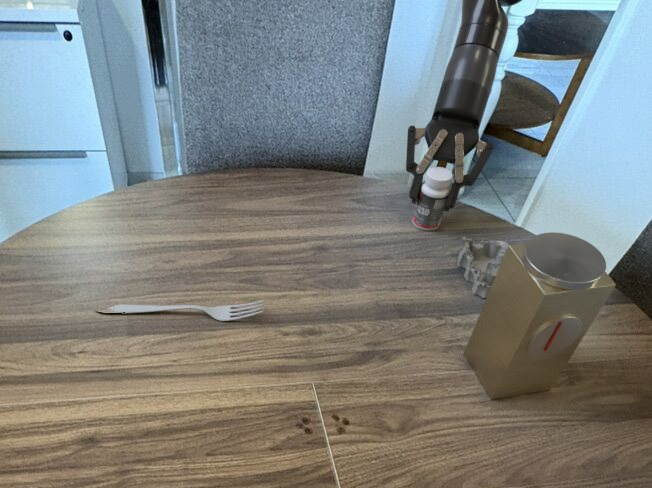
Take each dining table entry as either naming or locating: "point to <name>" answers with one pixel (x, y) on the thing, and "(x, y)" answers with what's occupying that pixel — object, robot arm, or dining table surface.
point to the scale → (537, 313)
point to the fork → (216, 312)
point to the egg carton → (481, 263)
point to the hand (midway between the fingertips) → (430, 205)
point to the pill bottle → (432, 198)
